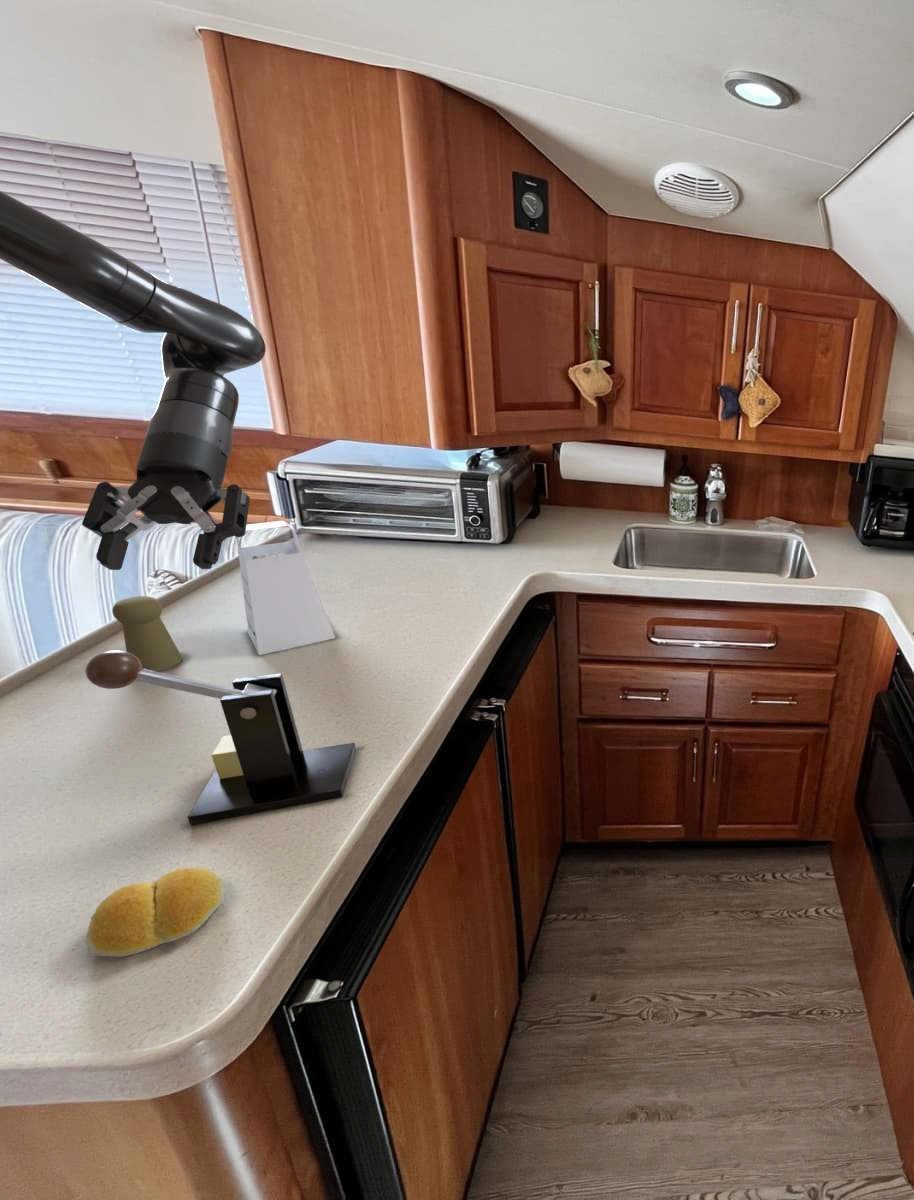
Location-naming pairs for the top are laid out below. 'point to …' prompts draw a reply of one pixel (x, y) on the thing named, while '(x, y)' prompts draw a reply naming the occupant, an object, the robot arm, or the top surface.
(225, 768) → the butter
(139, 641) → the cork
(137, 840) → the top surface
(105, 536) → the robot arm
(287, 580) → the grater
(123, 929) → the bread roll
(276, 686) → the slicer
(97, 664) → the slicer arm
